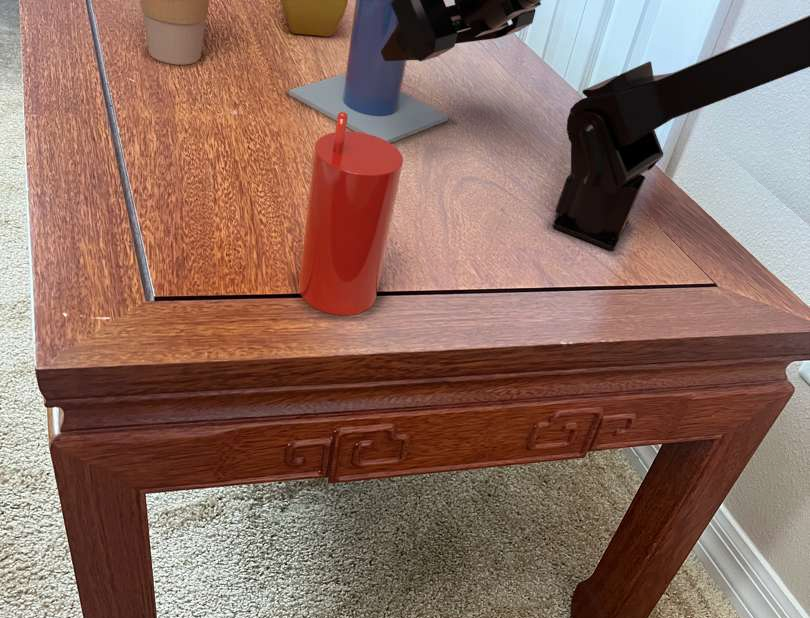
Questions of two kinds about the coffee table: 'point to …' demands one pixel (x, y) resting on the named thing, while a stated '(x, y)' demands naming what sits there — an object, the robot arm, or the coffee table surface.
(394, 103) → the blue cylinder
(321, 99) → the gray mat
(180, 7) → the coffee cup
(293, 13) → the flower pot
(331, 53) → the coffee table surface
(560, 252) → the coffee table surface
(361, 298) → the red cylinder
